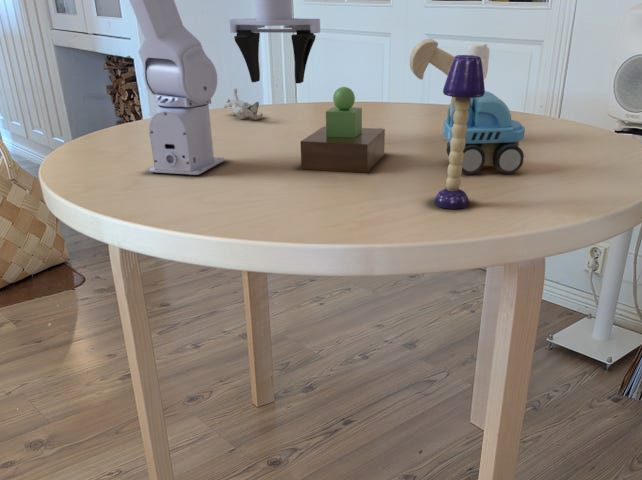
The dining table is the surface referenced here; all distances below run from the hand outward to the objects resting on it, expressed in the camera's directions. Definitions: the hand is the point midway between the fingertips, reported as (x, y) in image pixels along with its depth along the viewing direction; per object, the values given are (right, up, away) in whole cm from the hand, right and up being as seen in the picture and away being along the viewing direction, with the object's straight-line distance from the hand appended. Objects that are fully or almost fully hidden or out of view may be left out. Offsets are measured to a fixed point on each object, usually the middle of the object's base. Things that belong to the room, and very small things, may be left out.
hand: (277, 82), depth 108 cm
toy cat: (-9, +4, +27) cm, 29 cm away
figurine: (+33, -7, +8) cm, 35 cm away
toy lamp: (+24, -27, -27) cm, 45 cm away
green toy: (+11, -12, -9) cm, 18 cm away
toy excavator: (+28, -18, -11) cm, 35 cm away
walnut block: (+11, -15, -7) cm, 20 cm away
